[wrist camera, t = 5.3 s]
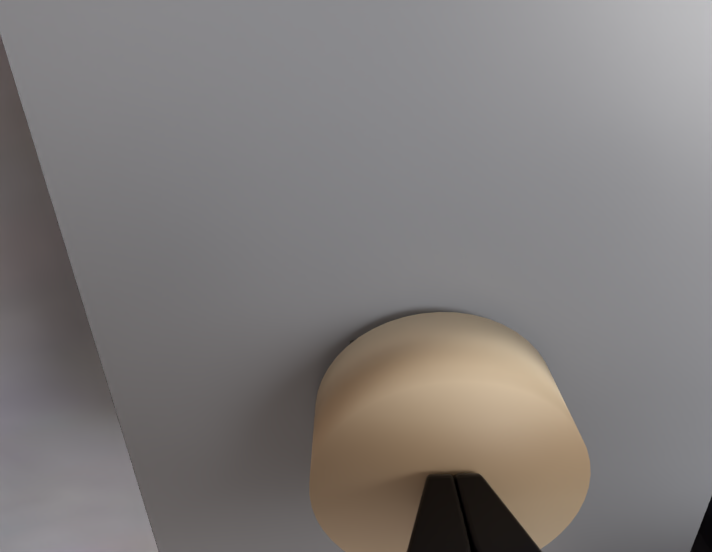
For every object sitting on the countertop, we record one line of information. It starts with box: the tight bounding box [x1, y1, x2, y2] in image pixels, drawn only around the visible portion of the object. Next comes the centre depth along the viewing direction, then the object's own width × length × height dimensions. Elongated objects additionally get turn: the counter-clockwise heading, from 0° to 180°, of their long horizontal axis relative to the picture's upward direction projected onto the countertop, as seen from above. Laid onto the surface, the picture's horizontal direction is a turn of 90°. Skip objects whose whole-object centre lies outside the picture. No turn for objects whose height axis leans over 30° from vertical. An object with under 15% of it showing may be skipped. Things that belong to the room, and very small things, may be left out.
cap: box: [309, 312, 591, 552], centre depth 12 cm, size 4×4×7 cm
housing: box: [0, 0, 712, 552], centre depth 11 cm, size 22×12×6 cm, turn 2°
